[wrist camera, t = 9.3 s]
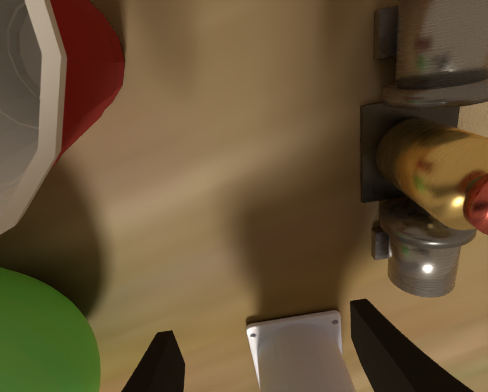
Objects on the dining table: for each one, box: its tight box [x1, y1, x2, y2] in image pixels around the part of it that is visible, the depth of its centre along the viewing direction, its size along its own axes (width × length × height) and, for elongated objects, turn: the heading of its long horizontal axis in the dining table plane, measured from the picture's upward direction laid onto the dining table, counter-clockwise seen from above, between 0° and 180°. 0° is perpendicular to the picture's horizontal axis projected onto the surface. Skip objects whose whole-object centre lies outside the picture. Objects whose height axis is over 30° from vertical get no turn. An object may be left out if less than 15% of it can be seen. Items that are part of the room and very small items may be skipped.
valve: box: [376, 118, 488, 235], centre depth 16 cm, size 4×4×8 cm
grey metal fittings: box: [360, 0, 488, 297], centre depth 17 cm, size 17×6×5 cm, turn 10°
